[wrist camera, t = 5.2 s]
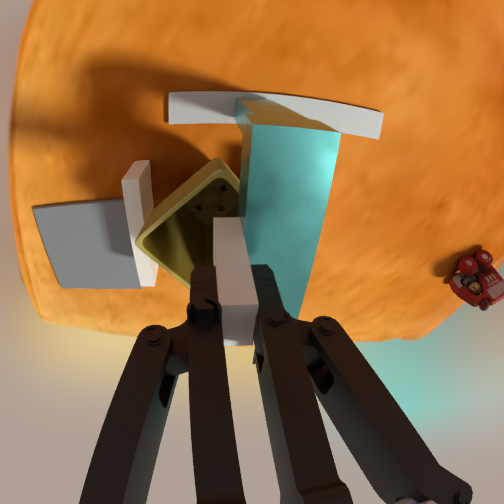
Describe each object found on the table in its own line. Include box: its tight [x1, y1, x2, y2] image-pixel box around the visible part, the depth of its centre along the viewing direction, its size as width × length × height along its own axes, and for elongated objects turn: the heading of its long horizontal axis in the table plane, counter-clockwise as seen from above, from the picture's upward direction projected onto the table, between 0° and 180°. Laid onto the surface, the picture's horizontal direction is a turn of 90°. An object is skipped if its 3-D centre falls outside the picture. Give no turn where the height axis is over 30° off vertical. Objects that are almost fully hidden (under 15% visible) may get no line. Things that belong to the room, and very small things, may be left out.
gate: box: [234, 97, 341, 319], centre depth 20 cm, size 14×4×14 cm, turn 176°
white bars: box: [121, 91, 384, 286], centre depth 26 cm, size 18×24×5 cm
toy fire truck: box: [449, 250, 504, 311], centre depth 38 cm, size 7×12×10 cm, turn 101°
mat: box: [33, 199, 142, 289], centre depth 29 cm, size 12×12×1 cm
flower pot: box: [135, 158, 240, 289], centre depth 24 cm, size 9×9×9 cm
